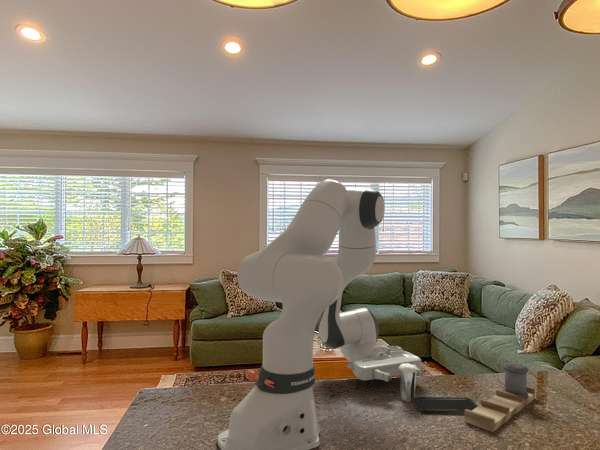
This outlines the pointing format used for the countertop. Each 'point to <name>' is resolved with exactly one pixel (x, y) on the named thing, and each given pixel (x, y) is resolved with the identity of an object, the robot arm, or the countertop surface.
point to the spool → (516, 379)
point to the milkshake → (407, 381)
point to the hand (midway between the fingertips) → (404, 375)
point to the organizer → (498, 409)
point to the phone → (443, 405)
